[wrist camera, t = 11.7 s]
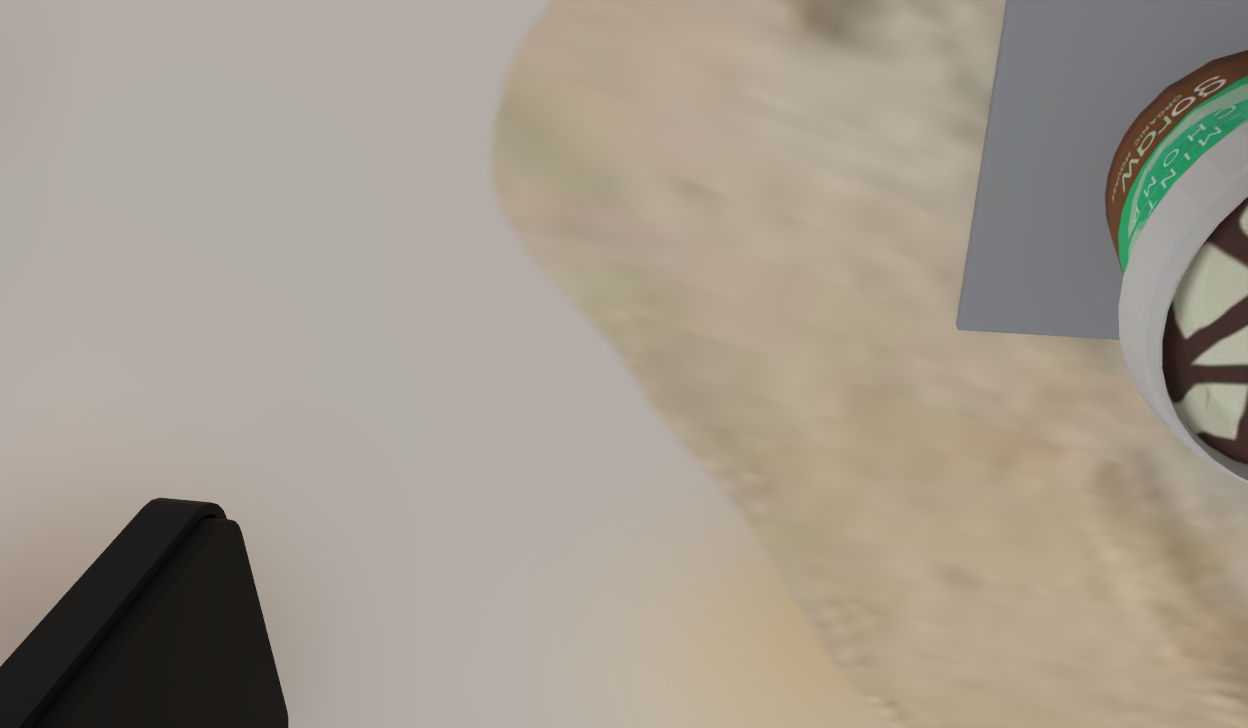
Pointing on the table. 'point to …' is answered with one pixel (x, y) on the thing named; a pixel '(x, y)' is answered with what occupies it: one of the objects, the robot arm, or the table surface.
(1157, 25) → the gray mat
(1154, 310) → the food container
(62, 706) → the robot arm
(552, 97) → the table surface
